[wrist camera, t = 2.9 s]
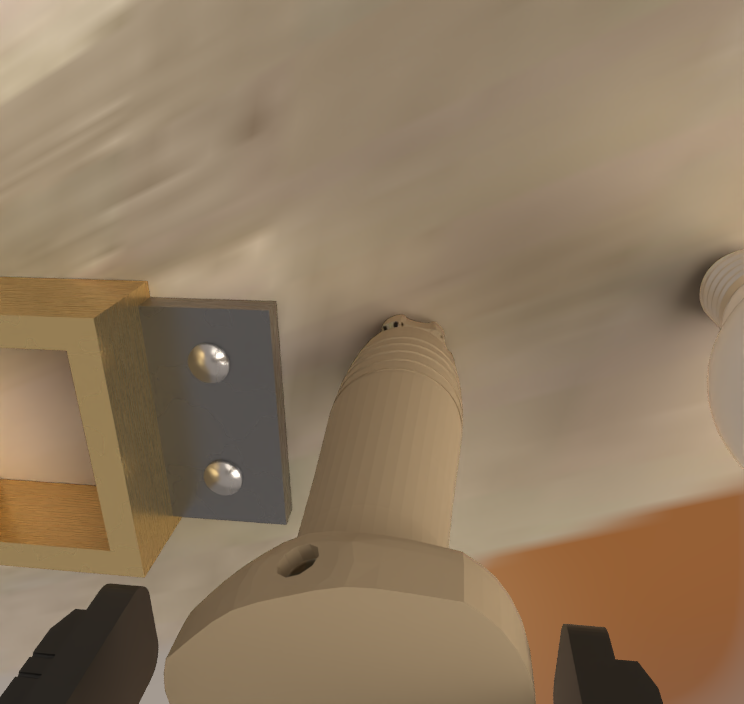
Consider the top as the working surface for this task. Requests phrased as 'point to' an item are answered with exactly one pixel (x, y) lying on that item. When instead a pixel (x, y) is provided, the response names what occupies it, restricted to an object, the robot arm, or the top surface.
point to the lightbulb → (727, 349)
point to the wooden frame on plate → (148, 421)
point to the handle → (367, 565)
